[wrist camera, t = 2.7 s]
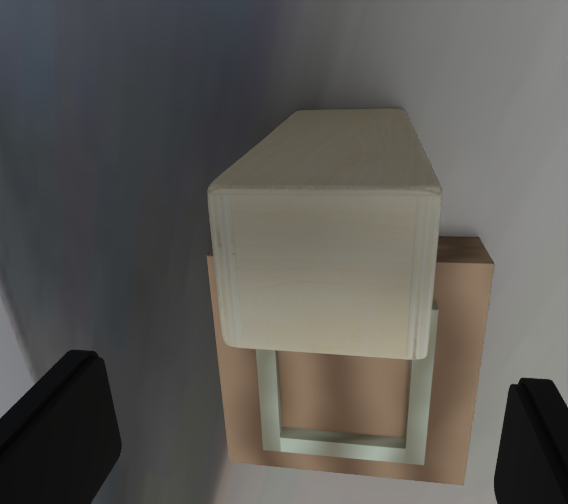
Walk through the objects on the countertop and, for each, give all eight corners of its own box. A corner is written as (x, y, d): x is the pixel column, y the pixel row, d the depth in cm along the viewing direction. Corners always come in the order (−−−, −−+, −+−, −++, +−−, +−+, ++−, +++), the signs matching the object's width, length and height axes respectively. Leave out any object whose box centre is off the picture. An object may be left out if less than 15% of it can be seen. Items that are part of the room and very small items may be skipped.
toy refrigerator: (295, 206, 38) (222, 363, 19) (293, 109, 35) (203, 180, 16) (399, 207, 37) (431, 378, 18) (405, 107, 34) (451, 182, 15)
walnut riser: (478, 237, 37) (499, 271, 31) (454, 440, 44) (466, 497, 39) (225, 232, 40) (201, 262, 34) (242, 422, 47) (225, 472, 42)
